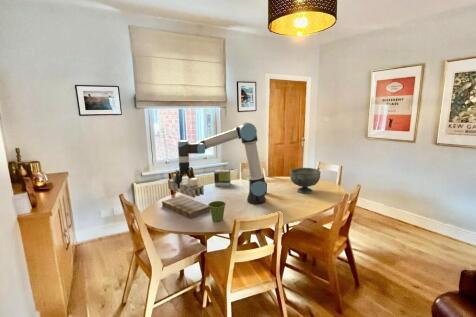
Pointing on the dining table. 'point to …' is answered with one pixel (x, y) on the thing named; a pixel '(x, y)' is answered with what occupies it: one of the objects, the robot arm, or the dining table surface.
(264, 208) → the dining table surface
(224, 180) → the tea box
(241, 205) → the dining table surface
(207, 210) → the grey flat block
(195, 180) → the cargo crate
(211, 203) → the plant pot
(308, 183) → the decorative bowl
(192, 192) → the grey lumpy bar
